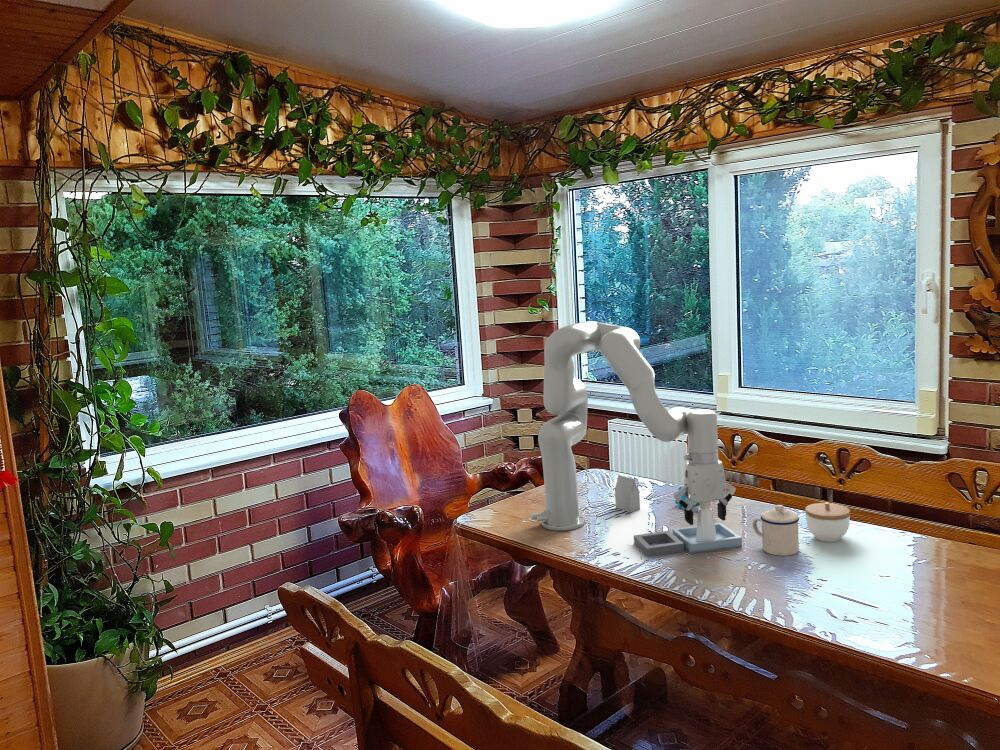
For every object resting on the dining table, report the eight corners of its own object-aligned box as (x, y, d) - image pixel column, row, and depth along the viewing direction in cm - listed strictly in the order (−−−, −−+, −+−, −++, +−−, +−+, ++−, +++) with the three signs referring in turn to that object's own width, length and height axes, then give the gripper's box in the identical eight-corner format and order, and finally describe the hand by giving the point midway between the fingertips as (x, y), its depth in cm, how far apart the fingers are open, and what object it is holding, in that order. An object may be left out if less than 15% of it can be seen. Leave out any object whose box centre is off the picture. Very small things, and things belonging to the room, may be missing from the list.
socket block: (647, 556, 194) (646, 548, 194) (634, 543, 204) (633, 535, 204) (684, 551, 196) (683, 543, 195) (669, 538, 206) (668, 530, 205)
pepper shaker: (691, 540, 201) (690, 500, 200) (703, 534, 205) (701, 495, 203) (709, 545, 197) (708, 504, 196) (721, 539, 201) (719, 498, 199)
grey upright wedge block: (631, 512, 229) (629, 480, 227) (615, 507, 234) (614, 476, 233) (640, 509, 231) (638, 477, 229) (624, 504, 236) (622, 473, 235)
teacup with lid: (806, 548, 192) (805, 504, 190) (788, 559, 186) (787, 514, 184) (762, 538, 201) (761, 495, 199) (744, 548, 195) (743, 504, 193)
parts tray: (691, 553, 194) (690, 544, 194) (672, 537, 206) (672, 529, 205) (742, 546, 196) (741, 537, 196) (721, 531, 208) (720, 522, 208)
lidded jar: (852, 546, 191) (852, 510, 190) (806, 544, 195) (806, 509, 193) (848, 531, 201) (847, 497, 200) (804, 529, 205) (804, 496, 203)
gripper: (677, 464, 193) (680, 530, 195) (741, 456, 195) (743, 521, 198) (666, 457, 200) (669, 520, 202) (727, 450, 203) (729, 512, 205)
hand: (705, 520), depth 200 cm, fingers open, 8 cm apart
